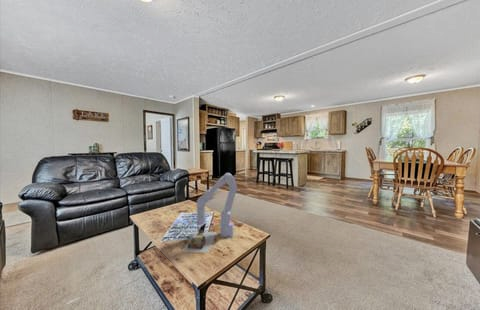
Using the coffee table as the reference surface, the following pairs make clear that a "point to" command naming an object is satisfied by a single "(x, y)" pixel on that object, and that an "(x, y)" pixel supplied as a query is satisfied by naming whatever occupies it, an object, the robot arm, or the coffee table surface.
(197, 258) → the coffee table surface
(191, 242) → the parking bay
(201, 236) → the cart
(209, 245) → the dock board
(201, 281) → the coffee table surface
